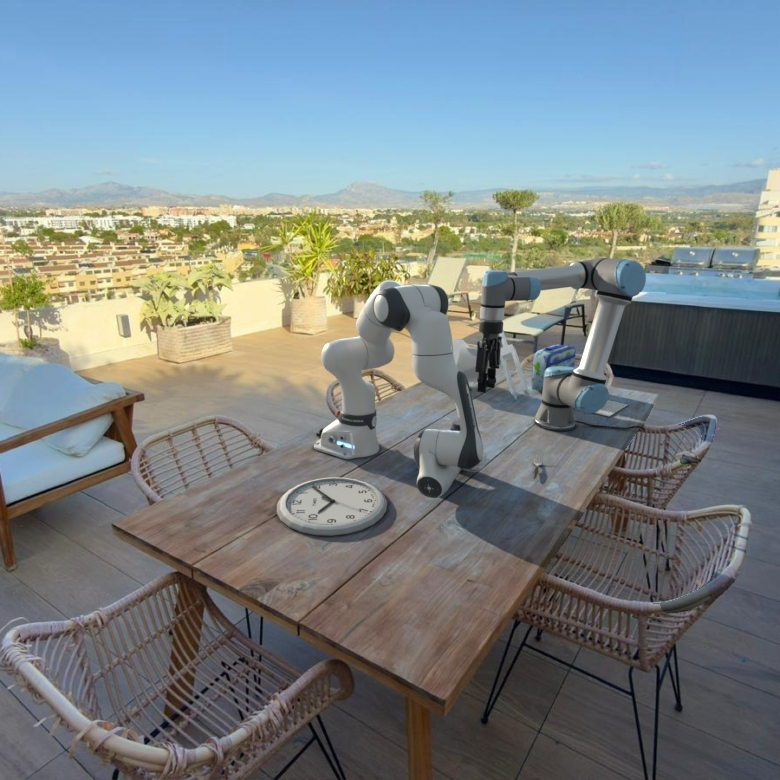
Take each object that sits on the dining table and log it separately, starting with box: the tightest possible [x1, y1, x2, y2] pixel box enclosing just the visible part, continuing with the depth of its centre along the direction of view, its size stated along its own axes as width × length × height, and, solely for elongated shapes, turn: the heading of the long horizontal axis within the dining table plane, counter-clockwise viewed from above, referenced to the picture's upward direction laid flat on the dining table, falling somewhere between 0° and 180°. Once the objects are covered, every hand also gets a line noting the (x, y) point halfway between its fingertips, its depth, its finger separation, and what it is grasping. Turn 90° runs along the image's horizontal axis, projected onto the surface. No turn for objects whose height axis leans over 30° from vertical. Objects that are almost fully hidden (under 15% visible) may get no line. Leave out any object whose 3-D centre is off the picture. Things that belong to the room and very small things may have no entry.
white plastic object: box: [453, 330, 531, 400], centre depth 245 cm, size 37×45×31 cm
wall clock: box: [276, 476, 388, 537], centre depth 142 cm, size 30×2×30 cm
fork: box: [533, 454, 544, 480], centre depth 165 cm, size 3×16×2 cm, turn 160°
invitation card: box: [594, 399, 629, 418], centre depth 226 cm, size 21×1×15 cm
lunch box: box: [530, 344, 577, 392], centre depth 247 cm, size 26×11×21 cm, turn 134°
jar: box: [449, 419, 464, 472], centre depth 164 cm, size 5×5×15 cm
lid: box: [477, 375, 497, 385], centre depth 172 cm, size 6×6×2 cm
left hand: (458, 447), depth 165 cm, fingers closed on jar, 5 cm apart
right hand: (486, 389), depth 173 cm, fingers closed on lid, 6 cm apart
